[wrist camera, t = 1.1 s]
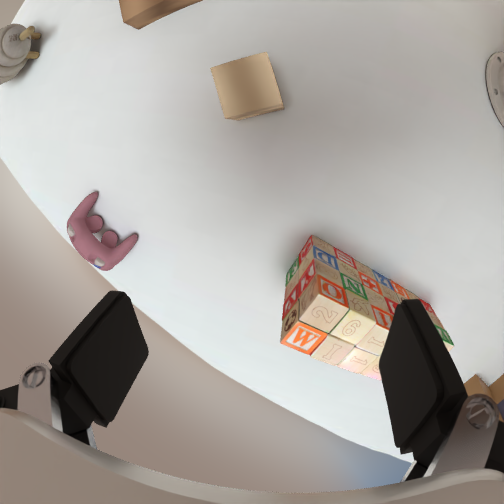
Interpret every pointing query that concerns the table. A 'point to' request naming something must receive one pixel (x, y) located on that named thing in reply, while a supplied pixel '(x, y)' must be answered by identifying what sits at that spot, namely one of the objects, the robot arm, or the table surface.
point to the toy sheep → (15, 49)
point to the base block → (149, 10)
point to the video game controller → (87, 244)
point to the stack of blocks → (341, 309)
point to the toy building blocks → (488, 391)
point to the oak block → (247, 87)
